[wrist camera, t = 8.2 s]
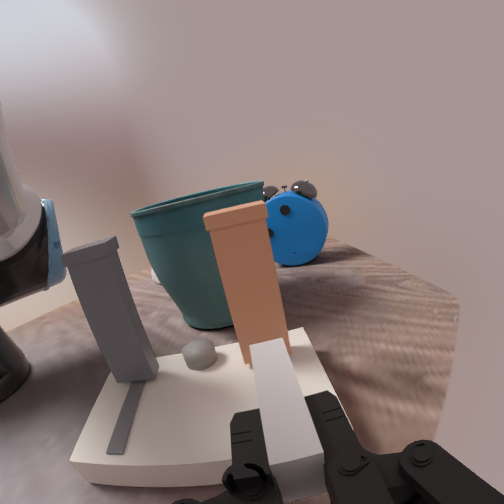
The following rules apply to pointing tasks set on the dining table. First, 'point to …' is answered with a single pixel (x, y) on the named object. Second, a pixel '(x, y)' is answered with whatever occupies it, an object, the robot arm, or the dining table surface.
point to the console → (180, 416)
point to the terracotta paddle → (248, 274)
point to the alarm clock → (295, 223)
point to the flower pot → (191, 250)
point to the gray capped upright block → (111, 310)
